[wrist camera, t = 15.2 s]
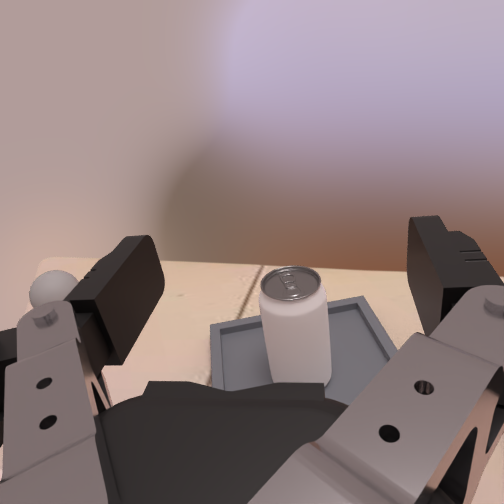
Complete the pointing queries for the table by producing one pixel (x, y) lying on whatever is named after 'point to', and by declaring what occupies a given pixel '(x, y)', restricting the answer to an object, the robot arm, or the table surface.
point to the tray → (341, 345)
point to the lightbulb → (51, 287)
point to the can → (296, 325)
